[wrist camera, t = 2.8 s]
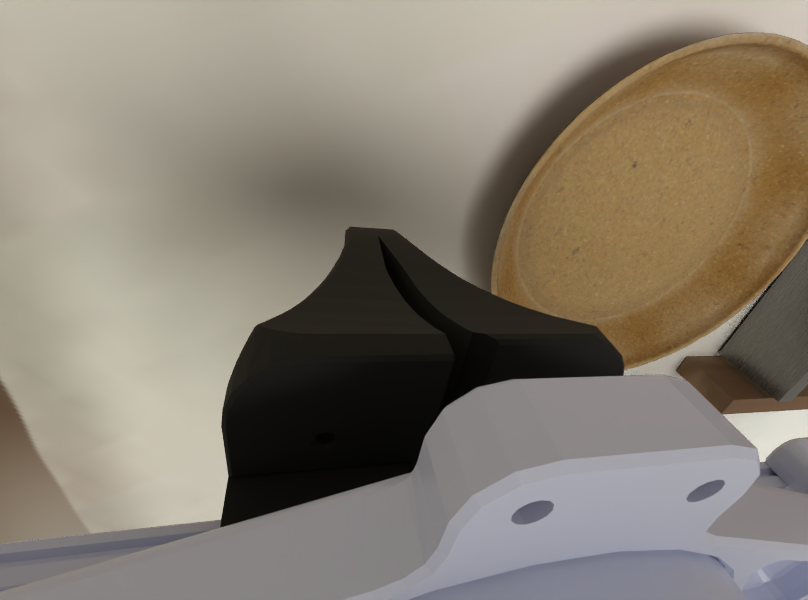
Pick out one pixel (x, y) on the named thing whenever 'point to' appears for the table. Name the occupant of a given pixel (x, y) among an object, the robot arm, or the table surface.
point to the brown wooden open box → (733, 387)
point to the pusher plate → (776, 335)
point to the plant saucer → (667, 197)
